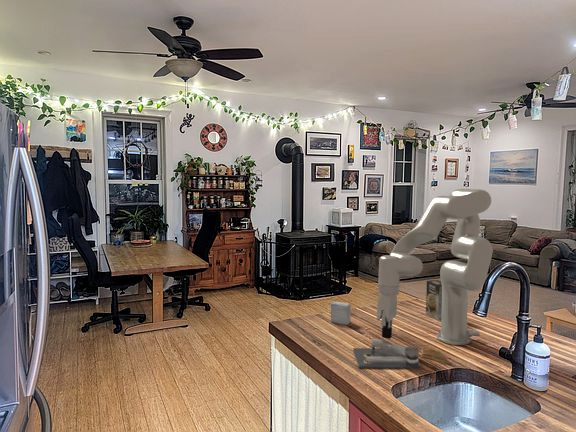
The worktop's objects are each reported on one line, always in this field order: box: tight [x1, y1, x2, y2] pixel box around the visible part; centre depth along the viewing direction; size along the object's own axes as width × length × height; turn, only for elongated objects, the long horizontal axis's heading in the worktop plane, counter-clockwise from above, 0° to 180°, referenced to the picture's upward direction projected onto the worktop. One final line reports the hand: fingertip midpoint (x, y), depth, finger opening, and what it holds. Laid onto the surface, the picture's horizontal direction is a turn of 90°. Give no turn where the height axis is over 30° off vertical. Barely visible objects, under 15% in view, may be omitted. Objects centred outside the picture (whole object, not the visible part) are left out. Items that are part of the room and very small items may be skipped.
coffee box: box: [425, 279, 442, 321], centre depth 189 cm, size 9×6×16 cm
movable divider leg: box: [370, 337, 420, 359], centre depth 144 cm, size 18×4×4 cm, turn 49°
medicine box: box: [330, 301, 352, 326], centre depth 181 cm, size 8×4×9 cm, turn 58°
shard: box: [420, 348, 451, 365], centre depth 145 cm, size 11×8×2 cm
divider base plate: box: [352, 347, 422, 369], centre depth 144 cm, size 21×14×3 cm, turn 89°
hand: (386, 337), depth 151 cm, fingers closed
